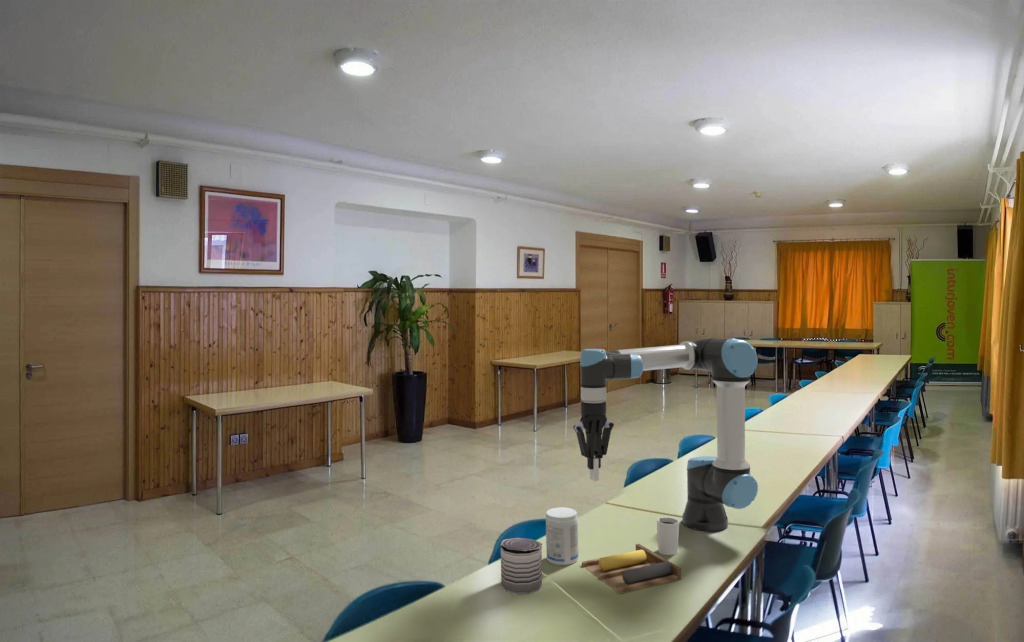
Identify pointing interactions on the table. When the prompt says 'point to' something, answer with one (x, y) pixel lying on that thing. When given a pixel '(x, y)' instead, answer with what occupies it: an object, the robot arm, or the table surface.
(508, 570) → the can
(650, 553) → the walnut slot rack
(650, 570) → the charcoal rod
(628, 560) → the ochre rod
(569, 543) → the supplement tub
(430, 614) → the table surface
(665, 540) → the white cup
